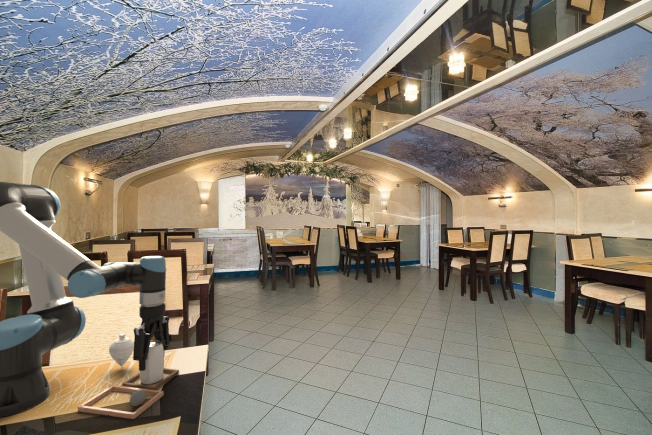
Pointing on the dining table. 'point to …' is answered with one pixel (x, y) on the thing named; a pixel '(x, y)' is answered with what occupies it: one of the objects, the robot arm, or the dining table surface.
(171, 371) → the brown square frame
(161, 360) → the can
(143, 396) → the ball
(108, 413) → the open picture frame
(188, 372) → the dining table surface
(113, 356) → the spinning top
